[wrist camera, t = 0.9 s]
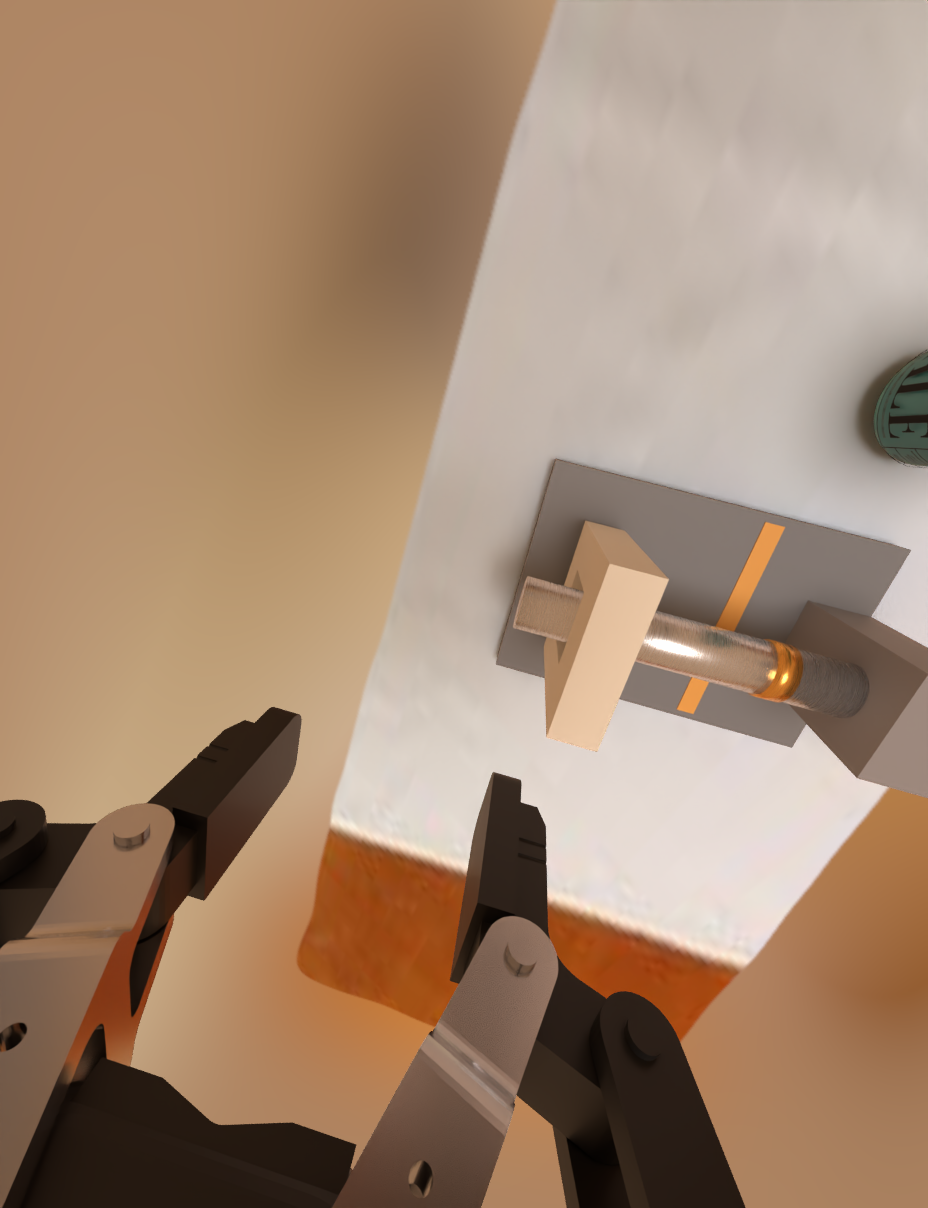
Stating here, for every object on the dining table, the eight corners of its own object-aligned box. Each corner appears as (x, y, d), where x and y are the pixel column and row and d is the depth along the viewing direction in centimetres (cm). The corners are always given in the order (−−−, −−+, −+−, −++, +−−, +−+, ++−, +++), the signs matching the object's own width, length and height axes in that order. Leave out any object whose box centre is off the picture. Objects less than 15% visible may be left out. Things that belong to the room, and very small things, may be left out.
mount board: (555, 458, 31) (564, 471, 20) (893, 544, 30) (1094, 606, 19) (497, 655, 36) (481, 747, 26) (781, 735, 35) (888, 866, 24)
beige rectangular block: (585, 520, 29) (609, 563, 20) (624, 530, 29) (668, 579, 19) (543, 645, 33) (546, 737, 23) (578, 655, 32) (596, 751, 23)
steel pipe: (528, 567, 27) (527, 584, 24) (861, 656, 26) (902, 685, 23) (514, 617, 28) (511, 638, 25) (831, 704, 27) (867, 737, 24)
